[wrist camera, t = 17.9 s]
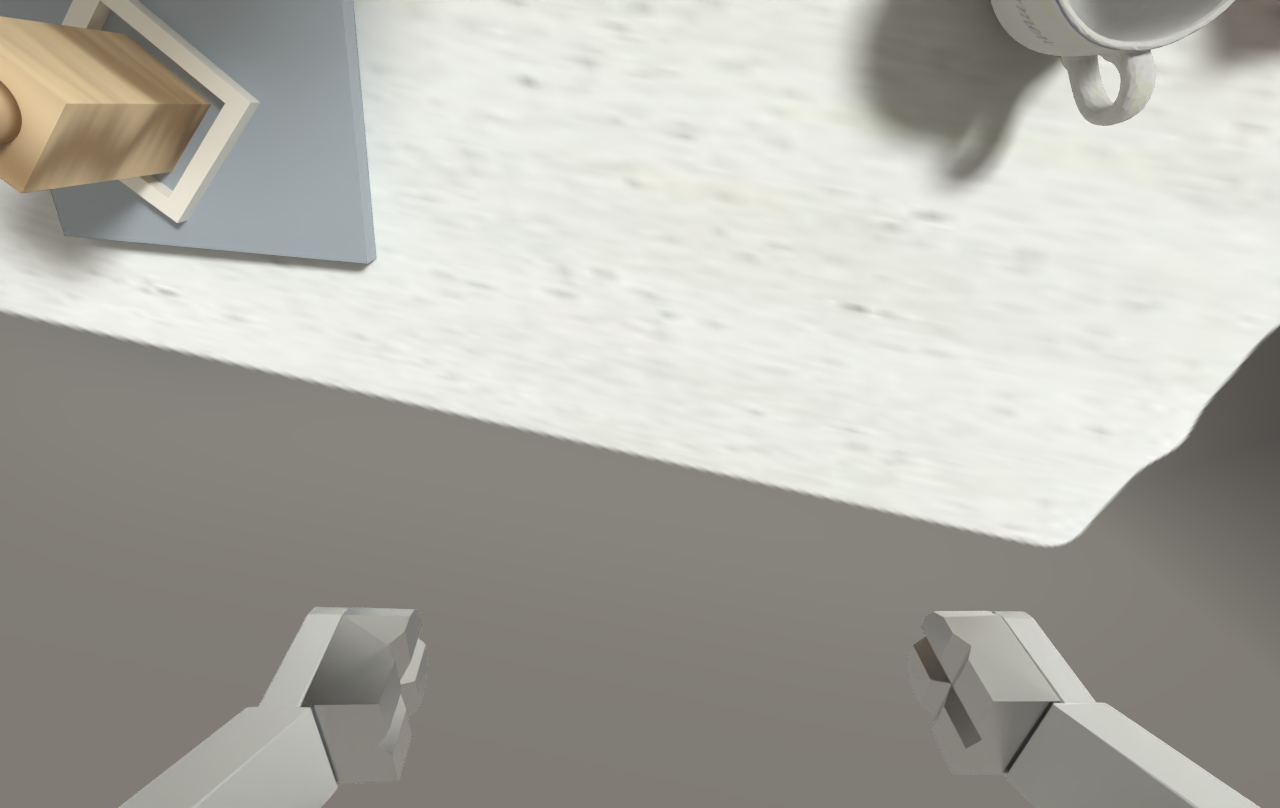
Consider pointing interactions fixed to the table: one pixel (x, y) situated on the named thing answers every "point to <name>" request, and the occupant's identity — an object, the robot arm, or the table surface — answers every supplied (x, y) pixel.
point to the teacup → (1105, 43)
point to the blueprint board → (251, 134)
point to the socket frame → (239, 106)
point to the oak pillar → (87, 107)
